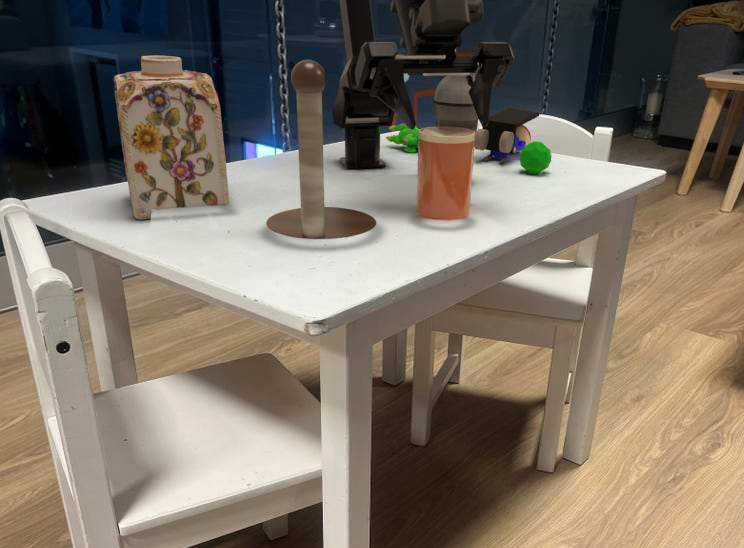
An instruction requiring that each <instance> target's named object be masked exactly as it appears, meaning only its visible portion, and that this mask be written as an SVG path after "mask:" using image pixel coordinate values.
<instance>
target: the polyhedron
mask: <svg viewBox="0 0 744 548" xmlns="http://www.w3.org/2000/svg"><path fill="white" fill-rule="evenodd" d="M551 152H552V151H551V149H550V148H549V147H547V145H545V144H544V143H543V142H542V141H537V140H535V141H530V143H529V144H528V145H526V146H525V147H523V148H522V150H521V152H519V157H518V158H519V163H520V164H519V165H520V166H521V167H522V168H523V169H524V170H525V171H526V172H527V173H528V174H530V175H531V174H532V175H538V174H540V173H541V172H543V171H545V170H546V169H548V168H549V166H550V164H551V162H552V153H551Z"/></svg>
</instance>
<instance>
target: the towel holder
mask: <svg viewBox="0 0 744 548" xmlns="http://www.w3.org/2000/svg"><path fill="white" fill-rule="evenodd" d="M290 82H291V86H292V88H293V89H294V91H295V94H296V95H295V96H296V117H297V119H296V120H297V144H298V145H297V146H298V147H297V148H298V170H299V195H300V196H299V198H300V199H299V200H300V207H298V208H292V209H287V210H283V211H280V212H278V213H275V214H272V215H271V216H270V217H269V218H267V220H266V222H265V225H266V226H267V228H268V229H269V230H271V231H272V232H274V233H276V234H279V235H282V236H287V237H291V238H298V239H307V240H336V239H343V238H344V239H345V238H351V237H356V236H358V235H359V236H360V235H363V234H365V233H368V232H370V231H372V230H373V229H374V228H375V227H376V226H377V221H376V218H374V216H372V215H370V214H369V213H366V212H364V211H360V210H356V209H351V208H347V207H337V206H325V172H324V168H325V166H324V164H325V163H324V132H323V131H324V130H323V129H324V128H323V91H324V89H325V88H326V85H327V74H326V70H325V69H324V67H323V66H322V65H321V64H320V63H319V62H317V61H316V60H312V59H303V60H301V61H299V62H297V63H295V65H294V66H293V67H292V70H291V73H290Z"/></svg>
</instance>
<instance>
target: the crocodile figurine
mask: <svg viewBox="0 0 744 548" xmlns="http://www.w3.org/2000/svg"><path fill="white" fill-rule="evenodd" d="M419 129H420V128H418V127H417V125H416V126H415V128H414V130H410V129H409V127H408V126H407V125H406V124H405V123H404V122H403V123H400V124H397V125H395V124H394V125H392V126H390V127H388V128H387V130H389V131H393V132H396V131H397V132H398V134H392V135H388V136H385V139H386V140H387V141H388V142H390V143H394V144H395V145H402V146H403V147H405V148H403V150H404V152H407V153H410V154H411V153H416V152H417V149H418V143H419V137H418V132H419Z"/></svg>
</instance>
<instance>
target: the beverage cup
mask: <svg viewBox="0 0 744 548" xmlns="http://www.w3.org/2000/svg"><path fill="white" fill-rule="evenodd" d="M455 52H456V53H457V48H456V49H455ZM470 88H471V86H469V85H468V82H467V78H466V75H448V76H444V77H443V78H442V79H441V80H440V81H439V83H438V84H437V86H436V89H435V92H434V98H433V100H432V103H433V109H434V117H435V127H436V126H448V127H460V128H466V129H470V130H473V131H475V133H476V132H477V131H478V124H479V119H478V117H477V114H476V111H475V108H474V106H473V103H472V100H471V98H470V95H469V90H470ZM475 139H476V135H475ZM474 145H475V143H474Z"/></svg>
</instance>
